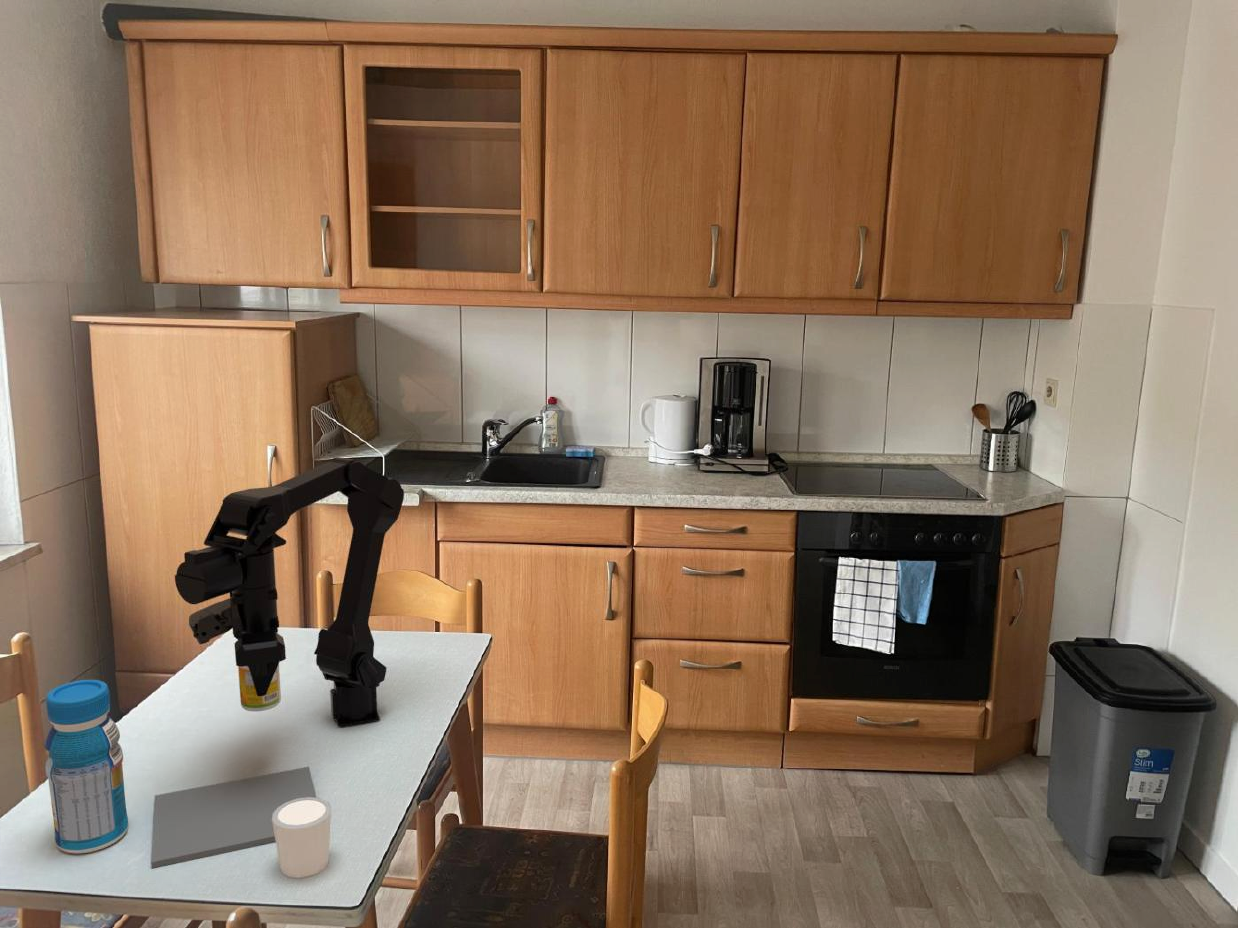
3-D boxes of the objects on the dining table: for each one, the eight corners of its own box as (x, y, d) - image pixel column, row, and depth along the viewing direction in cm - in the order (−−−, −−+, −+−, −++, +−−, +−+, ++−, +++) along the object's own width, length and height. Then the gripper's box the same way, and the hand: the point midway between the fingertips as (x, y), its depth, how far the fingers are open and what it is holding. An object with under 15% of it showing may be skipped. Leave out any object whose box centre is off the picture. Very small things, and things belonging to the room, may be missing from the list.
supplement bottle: (247, 695, 139) (243, 632, 137) (285, 695, 139) (282, 632, 137) (235, 712, 134) (231, 647, 132) (275, 712, 134) (271, 646, 132)
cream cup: (279, 887, 112) (276, 833, 111) (271, 855, 118) (267, 804, 117) (339, 871, 115) (336, 818, 114) (328, 841, 121) (325, 791, 120)
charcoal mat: (309, 771, 138) (308, 766, 138) (323, 831, 123) (323, 825, 123) (155, 800, 130) (154, 795, 130) (151, 868, 115) (151, 862, 115)
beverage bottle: (78, 864, 116) (61, 711, 112) (40, 841, 120) (23, 694, 116) (144, 830, 123) (130, 686, 119) (106, 810, 127) (92, 670, 123)
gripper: (190, 569, 138) (198, 670, 141) (190, 612, 121) (198, 725, 124) (272, 561, 142) (277, 659, 146) (282, 601, 126) (289, 711, 129)
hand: (260, 687), depth 136 cm, fingers closed on supplement bottle, 5 cm apart
